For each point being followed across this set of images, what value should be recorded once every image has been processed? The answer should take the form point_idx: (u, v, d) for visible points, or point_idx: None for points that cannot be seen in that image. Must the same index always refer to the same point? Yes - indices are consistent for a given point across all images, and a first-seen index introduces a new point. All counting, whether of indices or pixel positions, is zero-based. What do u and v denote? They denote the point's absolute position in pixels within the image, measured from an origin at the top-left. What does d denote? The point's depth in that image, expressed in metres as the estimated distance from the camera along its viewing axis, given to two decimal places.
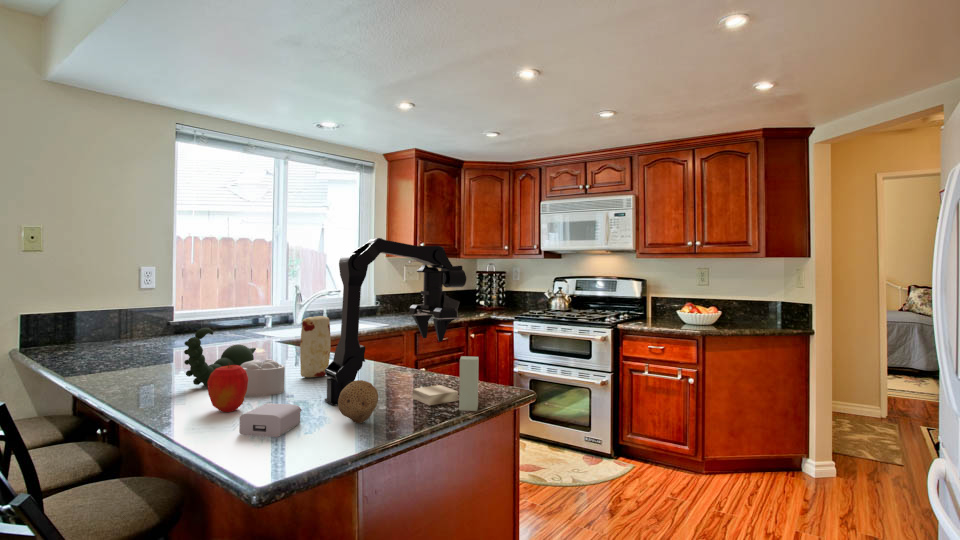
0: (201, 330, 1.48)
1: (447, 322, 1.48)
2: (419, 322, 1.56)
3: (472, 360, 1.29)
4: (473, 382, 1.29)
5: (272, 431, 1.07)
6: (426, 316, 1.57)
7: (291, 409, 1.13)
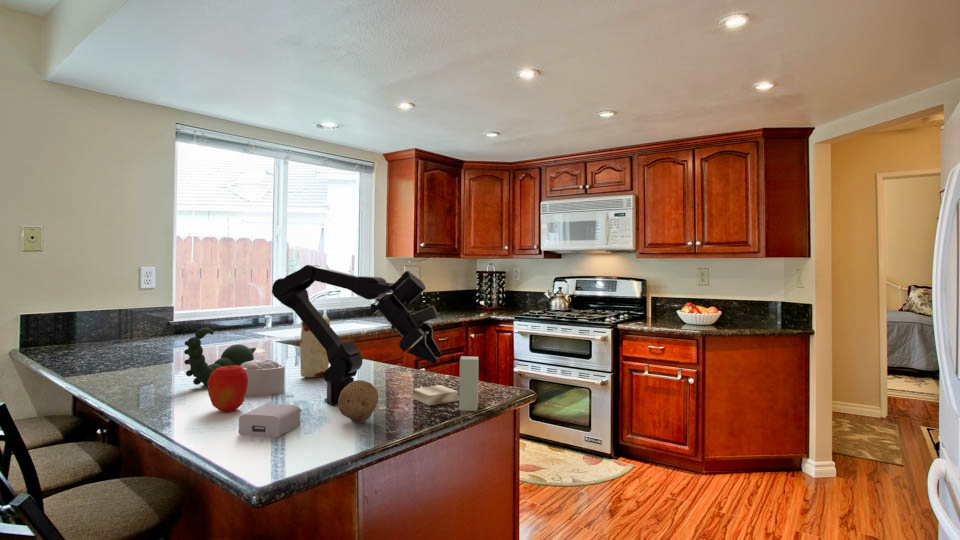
0: (201, 330, 1.48)
1: (422, 344, 1.26)
2: None
3: (472, 360, 1.29)
4: (473, 382, 1.29)
5: (271, 431, 1.06)
6: (426, 336, 1.38)
7: (291, 409, 1.12)
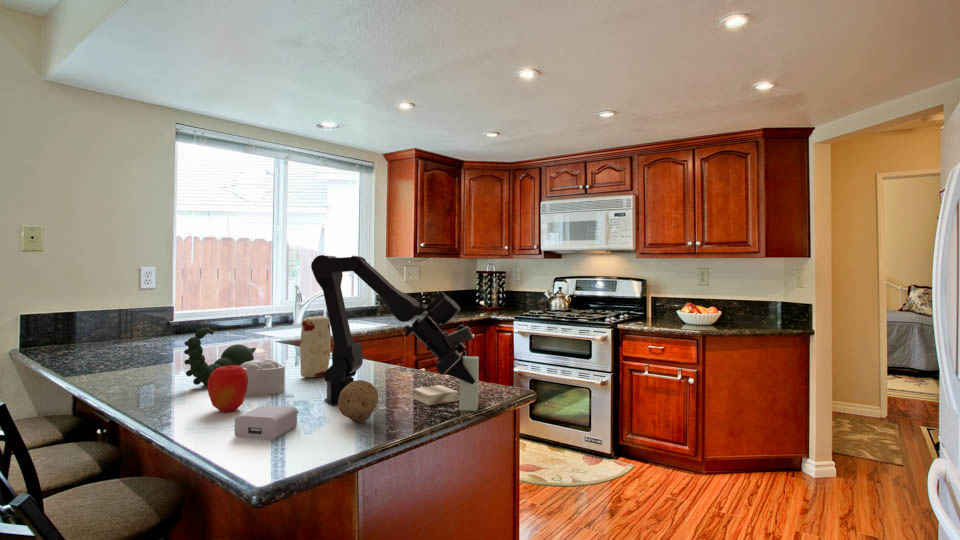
0: (201, 330, 1.48)
1: (460, 364, 1.27)
2: None
3: (472, 360, 1.29)
4: None
5: (268, 433, 1.05)
6: (460, 358, 1.35)
7: (287, 411, 1.11)
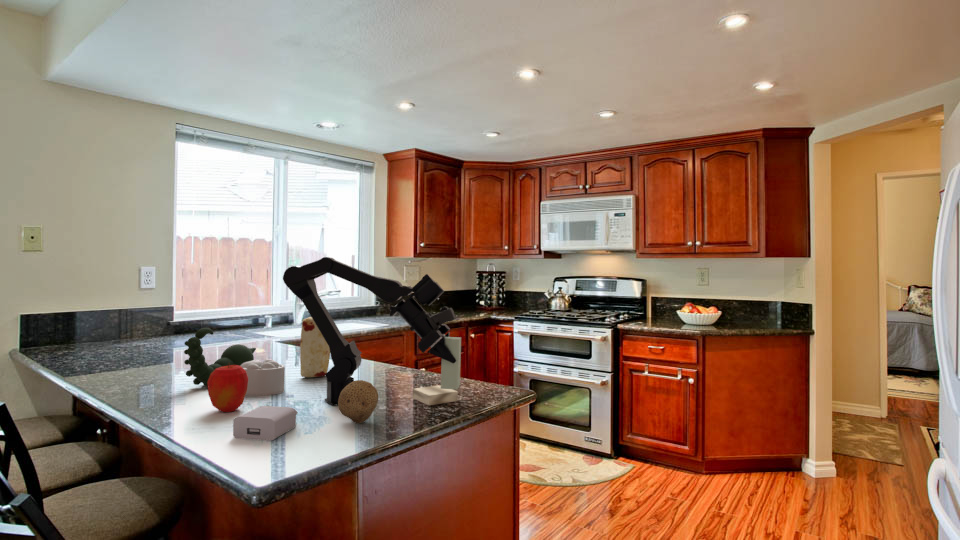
0: (201, 330, 1.48)
1: (442, 344, 1.31)
2: None
3: (454, 340, 1.33)
4: None
5: (267, 434, 1.05)
6: None
7: (286, 412, 1.10)
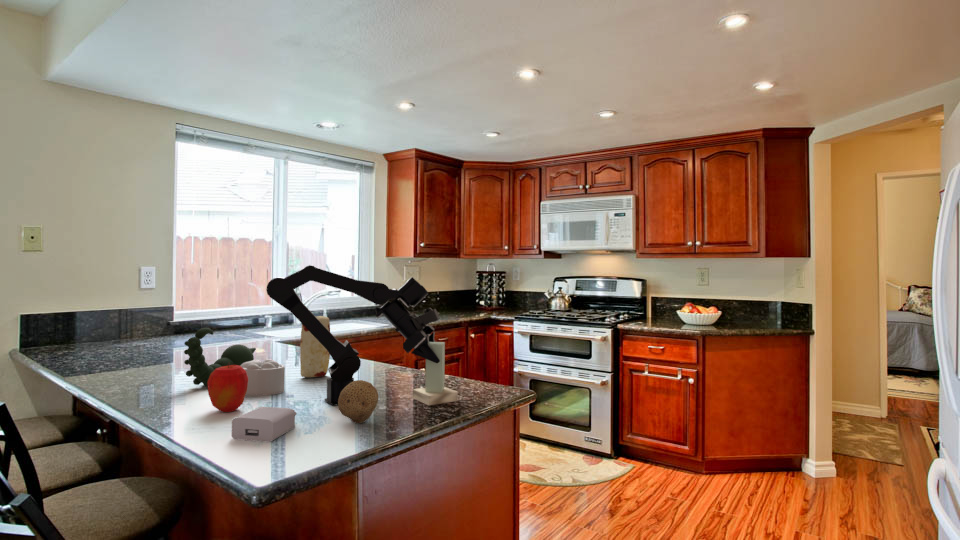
0: (201, 330, 1.48)
1: (425, 344, 1.35)
2: None
3: (437, 345, 1.38)
4: (438, 366, 1.38)
5: (265, 435, 1.04)
6: (428, 338, 1.44)
7: (285, 412, 1.10)
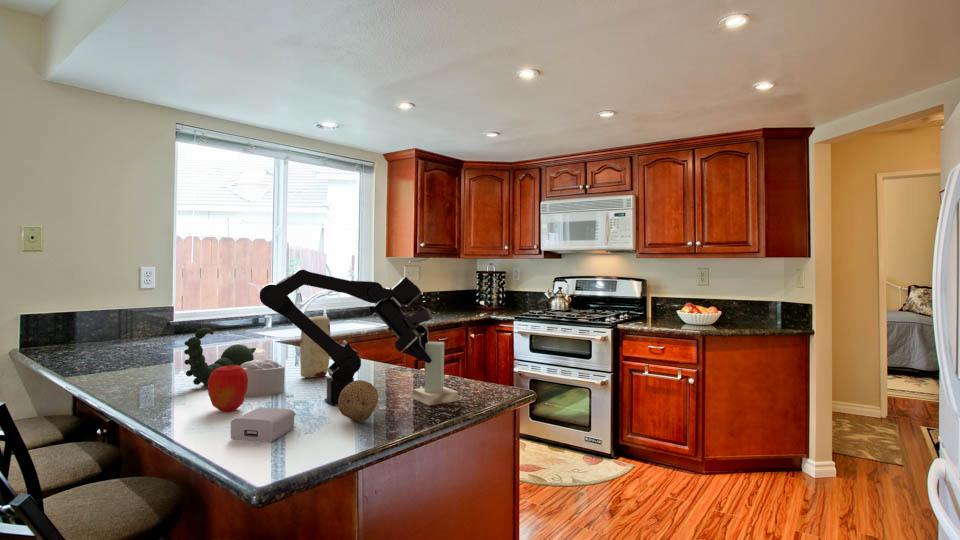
0: (201, 330, 1.48)
1: (417, 344, 1.34)
2: None
3: (437, 345, 1.37)
4: (437, 366, 1.37)
5: (264, 436, 1.03)
6: (422, 337, 1.45)
7: (284, 413, 1.09)
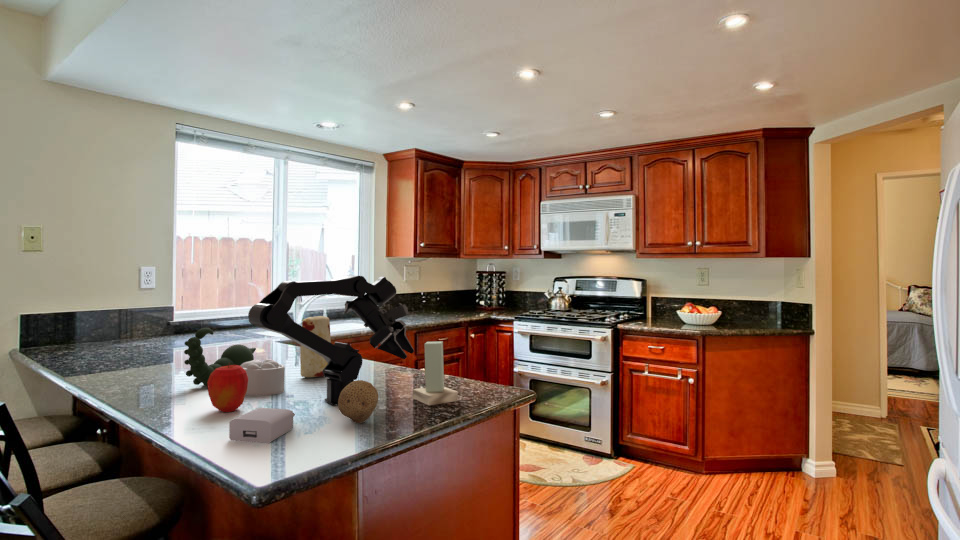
0: (201, 330, 1.48)
1: (392, 340, 1.34)
2: None
3: (436, 344, 1.38)
4: (437, 365, 1.38)
5: (263, 437, 1.03)
6: (399, 333, 1.46)
7: (283, 414, 1.09)
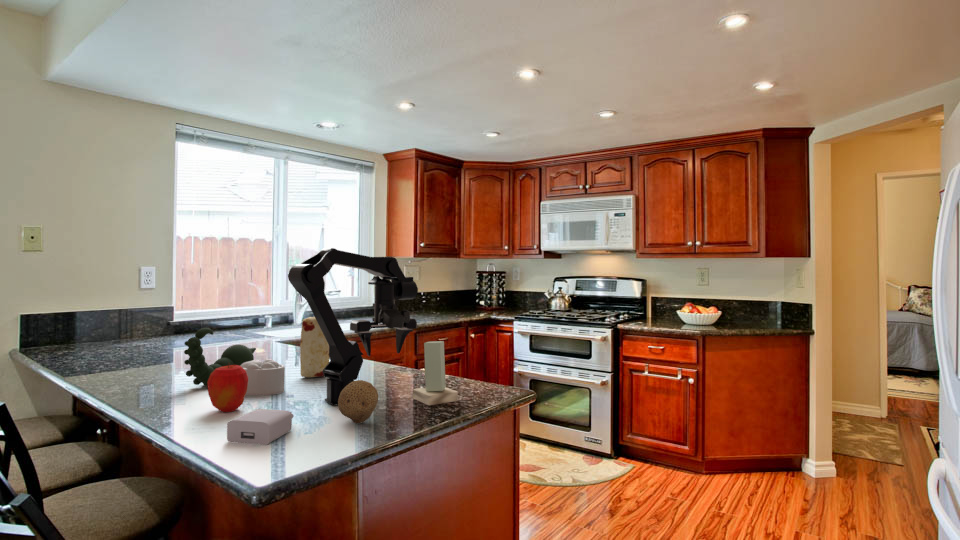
0: (201, 330, 1.48)
1: (364, 336, 1.42)
2: (396, 335, 1.51)
3: (435, 343, 1.38)
4: (437, 364, 1.38)
5: (261, 438, 1.02)
6: (401, 331, 1.49)
7: (282, 415, 1.08)
